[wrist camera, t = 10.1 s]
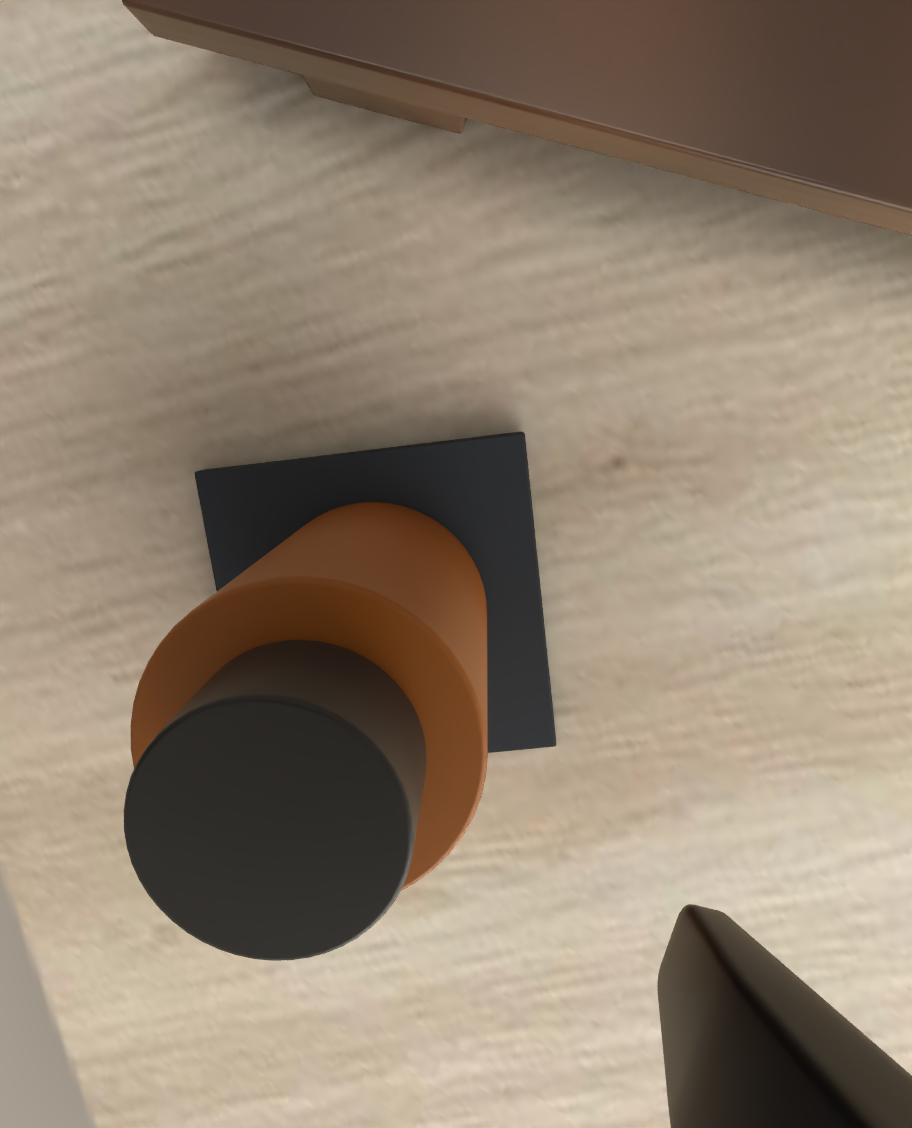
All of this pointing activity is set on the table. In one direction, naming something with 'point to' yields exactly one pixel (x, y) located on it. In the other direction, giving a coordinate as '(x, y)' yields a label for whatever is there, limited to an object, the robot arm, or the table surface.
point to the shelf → (616, 80)
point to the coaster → (446, 494)
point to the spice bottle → (312, 735)
